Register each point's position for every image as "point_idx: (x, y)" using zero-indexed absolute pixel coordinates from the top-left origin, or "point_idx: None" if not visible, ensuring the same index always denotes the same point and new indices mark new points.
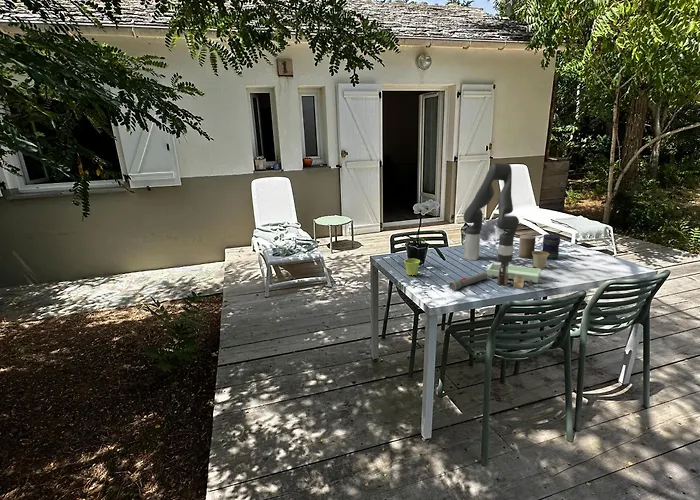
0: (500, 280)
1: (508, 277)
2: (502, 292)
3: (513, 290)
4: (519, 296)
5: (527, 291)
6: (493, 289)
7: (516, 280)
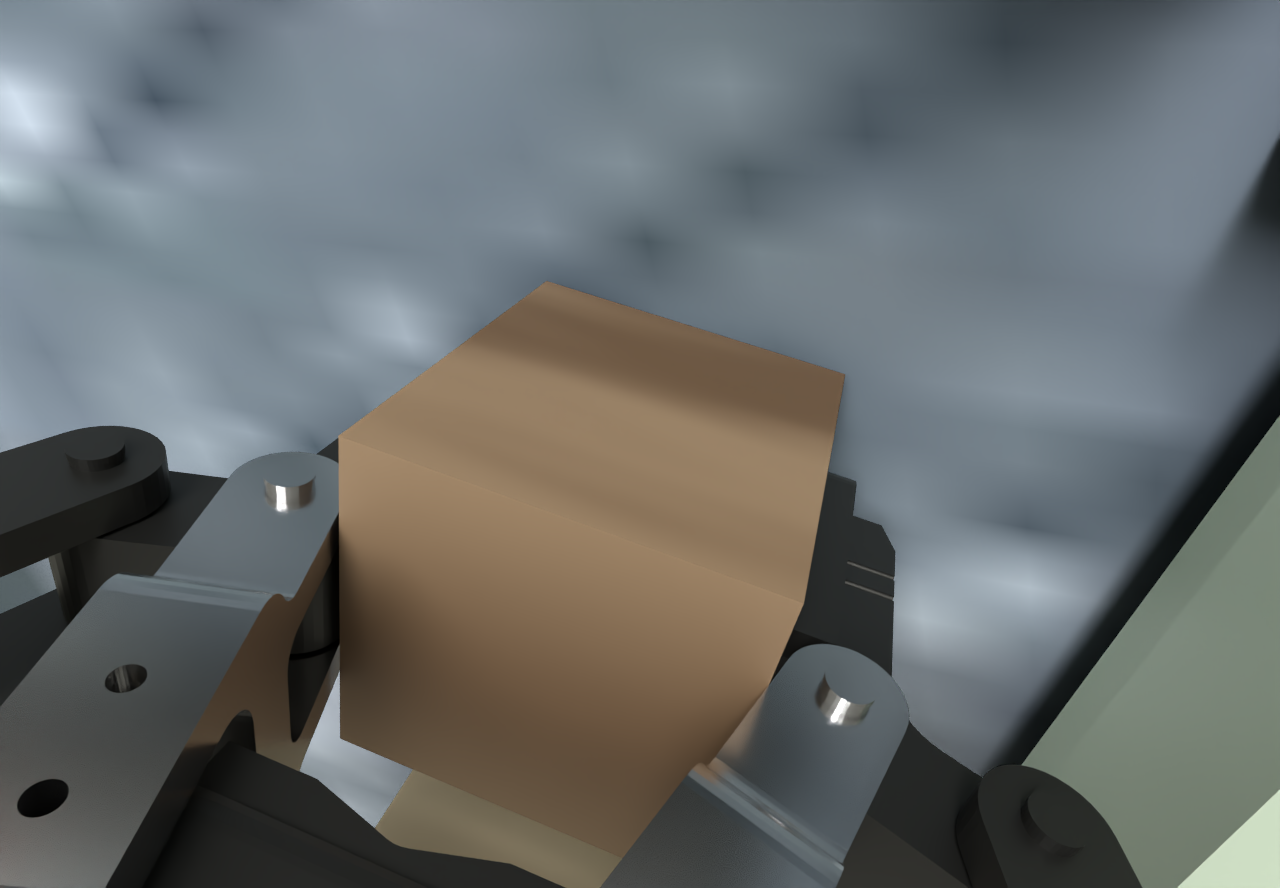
0: None
1: (1061, 754)
2: (30, 333)
3: None
4: None
5: (341, 794)
6: (80, 103)
7: None
